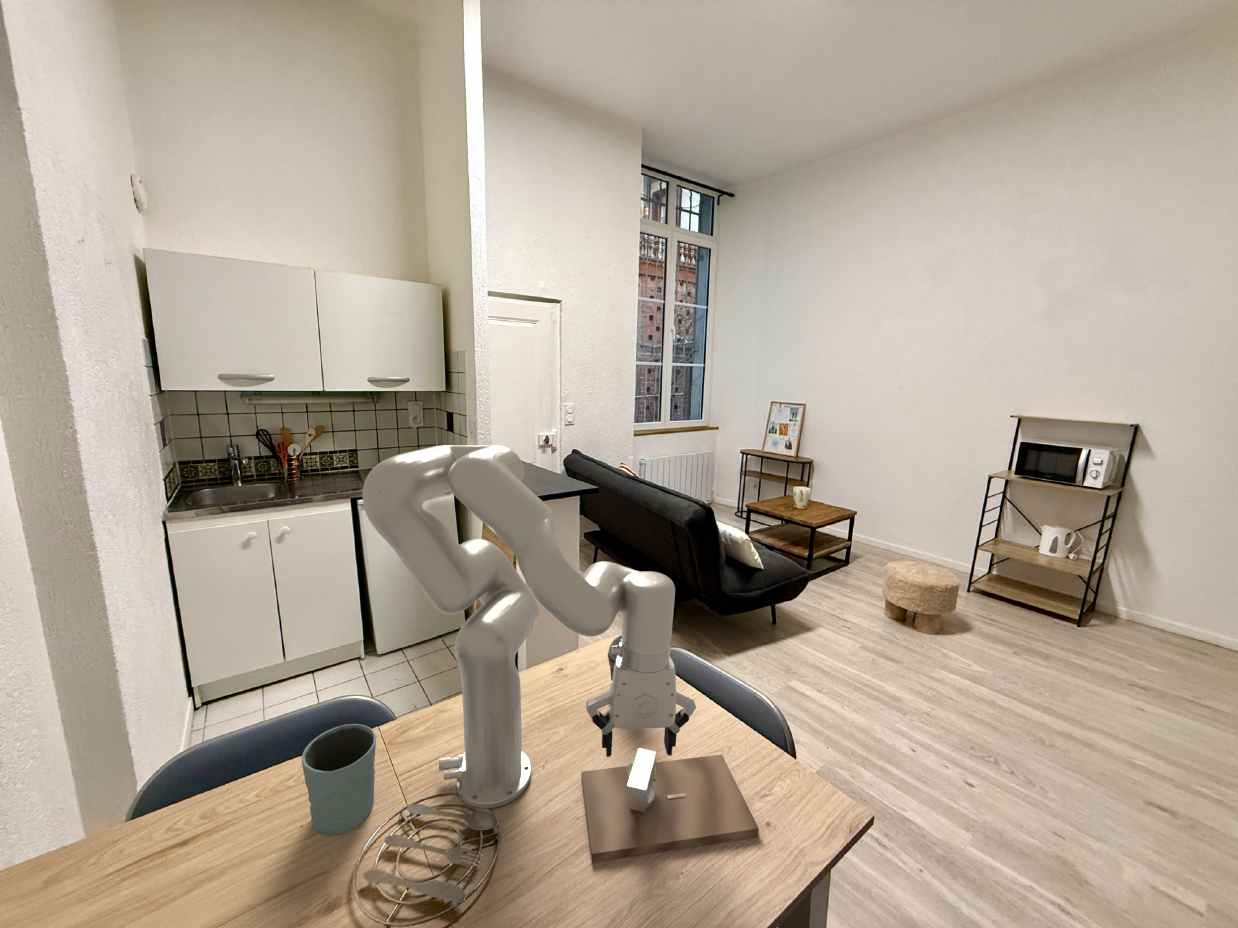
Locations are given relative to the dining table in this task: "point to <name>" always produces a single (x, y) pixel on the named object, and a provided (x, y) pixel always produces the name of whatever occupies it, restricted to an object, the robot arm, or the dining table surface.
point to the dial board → (665, 809)
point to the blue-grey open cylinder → (340, 777)
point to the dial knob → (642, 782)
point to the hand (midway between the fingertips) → (638, 749)
